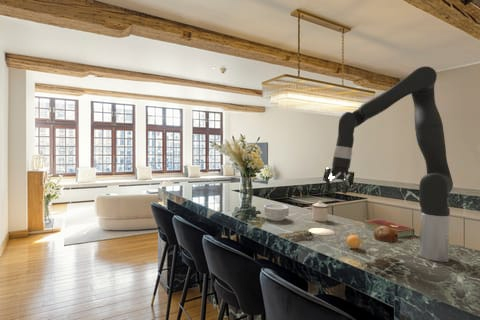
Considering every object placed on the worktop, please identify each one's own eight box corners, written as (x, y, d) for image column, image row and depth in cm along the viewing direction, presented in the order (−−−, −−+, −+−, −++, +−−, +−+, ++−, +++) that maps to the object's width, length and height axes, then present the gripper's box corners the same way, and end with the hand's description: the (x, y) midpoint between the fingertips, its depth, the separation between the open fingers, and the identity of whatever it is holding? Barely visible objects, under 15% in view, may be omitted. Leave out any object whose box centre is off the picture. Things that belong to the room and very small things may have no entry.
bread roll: (380, 242, 141) (373, 226, 143) (402, 237, 135) (394, 221, 137) (375, 247, 133) (368, 230, 135) (397, 242, 127) (389, 225, 129)
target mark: (338, 231, 146) (338, 230, 146) (330, 237, 136) (330, 236, 136) (313, 227, 154) (313, 226, 154) (304, 232, 143) (304, 232, 143)
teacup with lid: (330, 221, 168) (331, 201, 168) (318, 222, 164) (319, 202, 164) (317, 216, 179) (318, 198, 179) (305, 218, 175) (306, 199, 175)
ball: (361, 247, 121) (362, 235, 121) (359, 251, 116) (359, 238, 116) (348, 245, 124) (348, 232, 124) (345, 248, 119) (345, 235, 119)
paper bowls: (290, 222, 164) (290, 208, 163) (264, 221, 164) (264, 208, 163) (286, 216, 179) (286, 204, 179) (262, 216, 179) (262, 203, 179)
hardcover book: (378, 226, 160) (379, 218, 160) (414, 236, 141) (414, 228, 141) (363, 228, 156) (363, 220, 156) (397, 239, 136) (397, 230, 136)
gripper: (333, 155, 122) (327, 192, 123) (361, 160, 126) (354, 195, 126) (324, 154, 129) (318, 189, 130) (350, 158, 133) (344, 192, 134)
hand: (336, 192), depth 128 cm, fingers open, 8 cm apart
